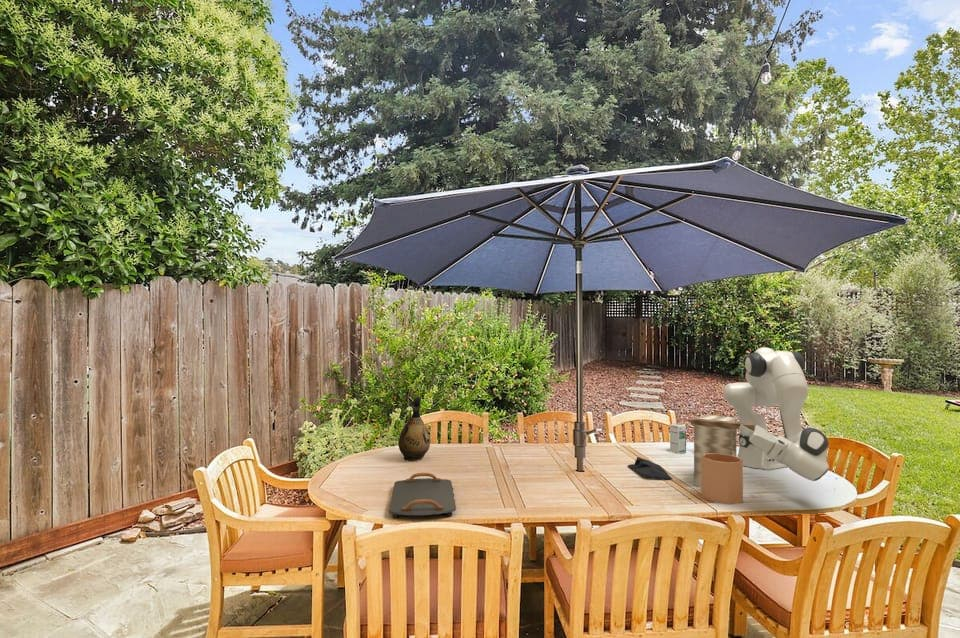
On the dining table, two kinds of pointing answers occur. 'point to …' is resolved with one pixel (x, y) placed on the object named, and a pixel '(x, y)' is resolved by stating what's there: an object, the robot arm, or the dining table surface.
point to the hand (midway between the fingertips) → (740, 424)
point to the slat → (721, 424)
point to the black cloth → (649, 469)
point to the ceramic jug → (414, 435)
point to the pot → (722, 478)
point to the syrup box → (678, 438)
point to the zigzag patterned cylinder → (712, 442)
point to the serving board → (422, 496)
